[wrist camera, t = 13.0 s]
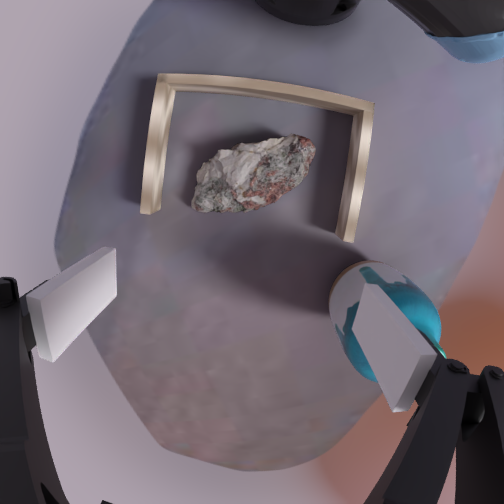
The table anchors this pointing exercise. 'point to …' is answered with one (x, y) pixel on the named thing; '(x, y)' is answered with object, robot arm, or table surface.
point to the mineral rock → (252, 174)
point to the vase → (397, 289)
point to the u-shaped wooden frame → (264, 90)
